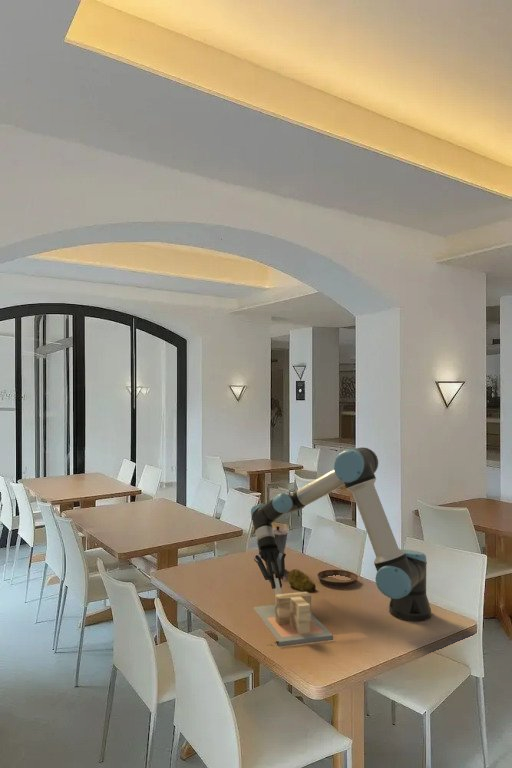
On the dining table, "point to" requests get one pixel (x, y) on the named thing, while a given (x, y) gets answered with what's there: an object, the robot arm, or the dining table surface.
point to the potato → (300, 581)
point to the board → (292, 629)
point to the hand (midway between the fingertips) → (279, 596)
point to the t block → (294, 610)
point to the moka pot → (280, 544)
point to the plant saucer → (336, 582)
